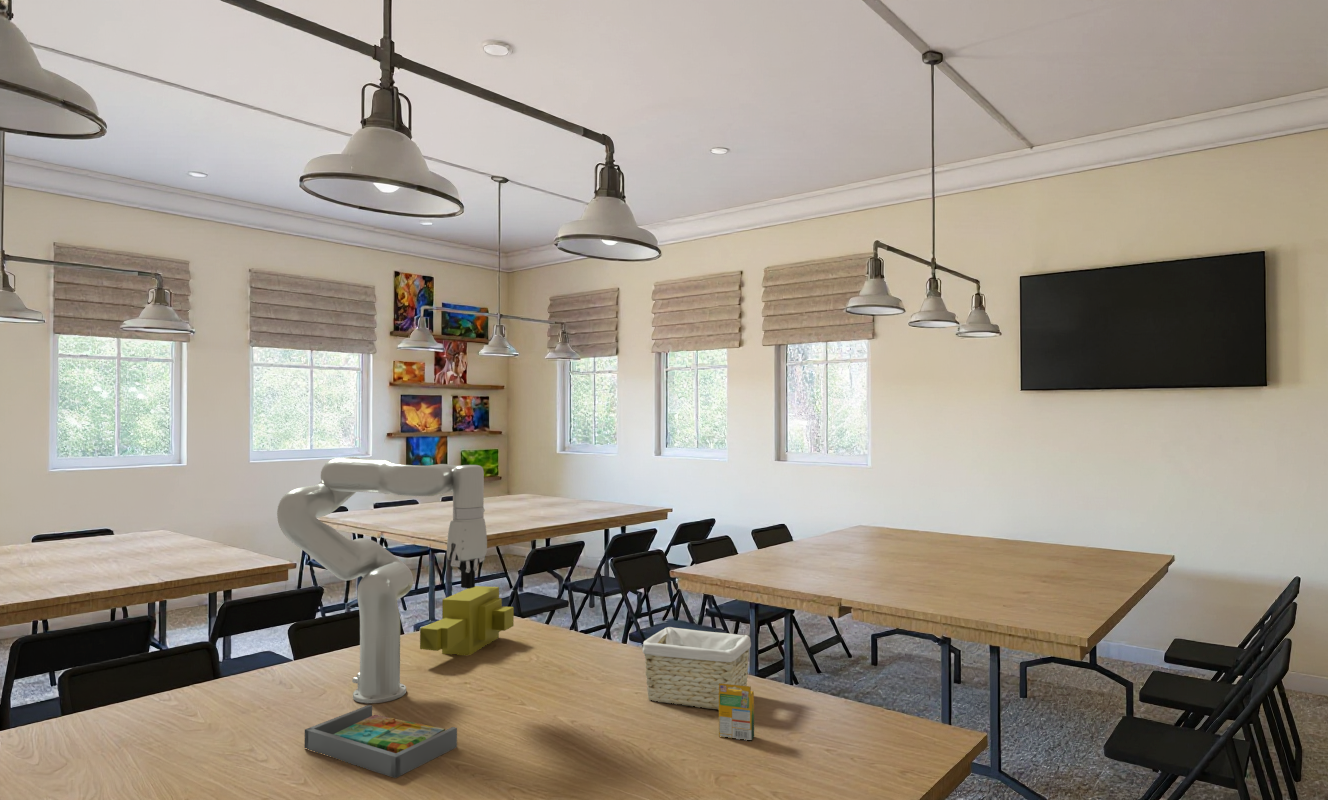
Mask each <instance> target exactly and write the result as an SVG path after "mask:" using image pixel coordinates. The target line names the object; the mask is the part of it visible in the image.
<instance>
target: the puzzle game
mask: <svg viewBox="0 0 1328 800" xmlns="http://www.w3.org/2000/svg"><path fill="white" fill-rule="evenodd" d="M445 730H446V728H444V727H443V728H442V727H437V726H432V725H429V724H428V725H426V724H423V723H418V722H413V721H407V720H401V719H398V718H397V719H396V718H395V717H389V716H388V717H387V716H384V715H383V716H382V715H376V714H372V716H371V717H368V718H366V719H364V720H362V721H360V722H358V723H356V724H354V725H352V726H350V727H347V728H345V729H343V730H341V731H339V732H337V733H335V734H333V735H336V736H340V737H343V738H346V739H350V740H353V741H356V742H360V743H363V744H366V745H370V746H373V747H376V748H380V749H383V750H386V751H390V752H393V753H398V752H400V751H402V750H405V749H407V748H409V747H411V746H413V745H415V744H417V743H419V742H422V741H424V740H426V739H428V738H430V737H432V736H434V735H436V734H439V733H441V732H443V731H445Z"/></svg>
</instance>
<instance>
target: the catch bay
mask: <svg viewBox="0 0 1328 800" xmlns="http://www.w3.org/2000/svg"><path fill="white" fill-rule="evenodd" d="M371 716H373V705H371V704H367V705H364V706H362V707H359V708H357V709H355V710H352V711H349V712H347V713H344V714H340V715H339V716H336V717H334V718H331V719H328V720H326V721H324V722H321V723H318V724H315V725H313V726H311V727H308V728H306V729H304V745H303V746H304V748H307V749H309V750H312V751H315V752H314V753H316V752H318V753H317V754H319V753H322V754H325V755H328V756H331V757H334V758H337V759H340V760H342V761H341V762H343V761H345V762H344V763H347V762H348V763H347V764H350V763H351V764H350V765H354V766H356V765H357V766H356V767H359V766H360V767H359V768H362V767H363V768H362V769H365V768H366V770H369V771H372V772H375V773H378V774H381V775H384V776H388V777H391V778H394V779H397V778H399V777H402V775H405V774H406V773H408V772H411V771H412V770H415V769H417V768H418V767H421V766H422V765H424V764H427V763H429V762H430V761H432V760H434V759H437V758H439V757H440V756H443V755H444V754H446V753H448V752H450V751H452V750H454V749H456V748H457V747H458V727H455V726H452V727H449V728H448V729H445V731H443V732H441V733H439V734H436V735H434V736H432V737H430V738H428V739H426V740H424V741H422V742H419V743H417V744H415V745H413V746H411V747H409V748H407V749H405V750H402V751H400V752H398V753H393V752H390V751H386V750H383V749H380V748H376V747H373V746H370V745H366V744H363V743H360V742H356V741H353V740H350V739H346V738H343V737H340V736H336V735H333V734H335V733H337V732H339V731H341V730H343V729H345V728H347V727H350V726H352V725H354V724H356V723H358V722H360V721H362V720H364V719H366V718H368V717H371ZM309 750H308V751H309ZM312 751H311V752H312ZM322 754H321V755H322ZM325 755H324V756H325ZM328 756H327V757H328ZM331 757H330V758H331ZM334 758H333V759H334ZM337 759H336V760H337ZM340 760H339V761H340Z"/></svg>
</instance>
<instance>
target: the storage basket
mask: <svg viewBox="0 0 1328 800" xmlns="http://www.w3.org/2000/svg"><path fill="white" fill-rule="evenodd" d="M642 643H643V644H642V645H643V646H642V654H644V658H645V661H644V662H645V677H646V685H647V687H646V688H647V698H648V699H647V700H649V701H651V700H652V701H653V702H656V701H658V702H657V703H667V704H671V703H672V704H673V703H674V704H673V705H677V704H682V705H681V706H689V707H693V706H695V708H700V707H702V708H704V709H711V710H712V709H713V710H717V711H719V683H723V684H732V685H742V686H748V674H749V673H748V672H749V671H748V669H749V666H748V665H749V657H750V648H751V647H752V642H751V637H750V636H749V635H748V634H747V635H746V634H744V635H742V634H736V633H727V632H717V631H715V632H714V631H706V630H696V629H689V628H678V627H672V626H668V627H665V628H664V629H661V630H659V631H658V632H656V633H655V634H653V635H651V636H650V637H648V638H647V639H645V640H644V641H643V642H642ZM728 689H735V690H742V689H740V688H736V687H728ZM702 708H701V709H702Z"/></svg>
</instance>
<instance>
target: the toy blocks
mask: <svg viewBox="0 0 1328 800" xmlns="http://www.w3.org/2000/svg"><path fill="white" fill-rule="evenodd" d="M502 602H503V599H502V597H501V598H500V587H499V586H485V585H484V586H482V585H481V586H480V585H475V587H474V588H470V589H469V588H464V589H463V590H461V591H458V592H456V593H455V594H452V595H449V596H447V597H445V598H442V602H441V604H442V606H441V608H442V610H441V611H442V612H441V613H442V614H441V617H442V618H441V619H438V620H437V621H434V622H431V623H429V624H427V625H424V626H422V627H420V628H419V649H420V650H424V651H425V650H426V651H435V652H439V651H441V654H442V655H452V654H457V656H466V655H470V656H471V655H473V654H475V653H476V652H478V651H479V649H480V650H481V649H483V648H485V647H486V646H488V645H489V644H491V643H493V642H495V641H496V640H497V639H499V638H500V632H502V631H503V632H504V631H507V630H509V629H511V628H513V627H514V626H515V625H514V616H515V613H514V610H515V608H514V606H504V605H503V603H502ZM502 605H503V606H502ZM492 641H493V642H492ZM487 644H488V645H487ZM485 645H486V646H485ZM482 647H483V648H482ZM477 650H478V651H477ZM474 652H475V653H474Z"/></svg>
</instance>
